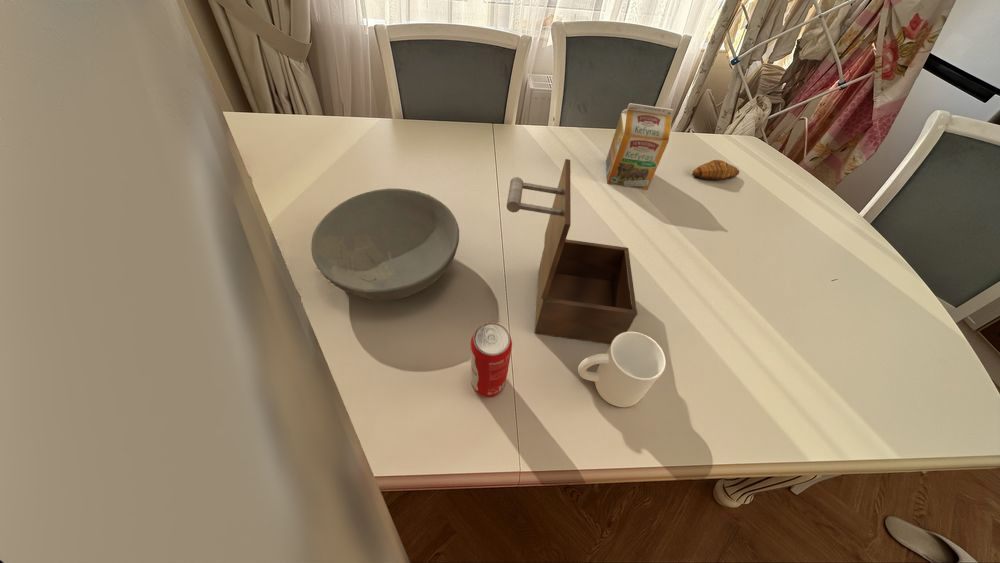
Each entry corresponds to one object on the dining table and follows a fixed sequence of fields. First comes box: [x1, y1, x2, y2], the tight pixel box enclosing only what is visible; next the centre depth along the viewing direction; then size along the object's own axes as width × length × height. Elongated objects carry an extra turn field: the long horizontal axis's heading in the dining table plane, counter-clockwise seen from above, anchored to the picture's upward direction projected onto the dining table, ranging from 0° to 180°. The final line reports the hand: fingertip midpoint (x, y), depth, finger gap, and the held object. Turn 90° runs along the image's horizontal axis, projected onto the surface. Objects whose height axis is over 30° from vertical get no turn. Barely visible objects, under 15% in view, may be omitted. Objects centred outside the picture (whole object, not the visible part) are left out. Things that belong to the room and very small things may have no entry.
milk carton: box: [605, 102, 674, 191], centre depth 102 cm, size 11×11×19 cm
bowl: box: [310, 188, 460, 301], centre depth 78 cm, size 26×26×10 cm
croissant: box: [692, 159, 740, 181], centre depth 111 cm, size 14×7×5 cm, turn 98°
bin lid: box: [506, 158, 572, 299], centre depth 65 cm, size 16×16×9 cm
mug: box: [577, 331, 666, 408], centre depth 65 cm, size 12×8×10 cm
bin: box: [534, 238, 638, 345], centre depth 75 cm, size 16×16×10 cm
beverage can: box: [470, 322, 513, 398], centre depth 61 cm, size 6×6×15 cm
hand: (110, 315), depth 38 cm, fingers open, 13 cm apart
